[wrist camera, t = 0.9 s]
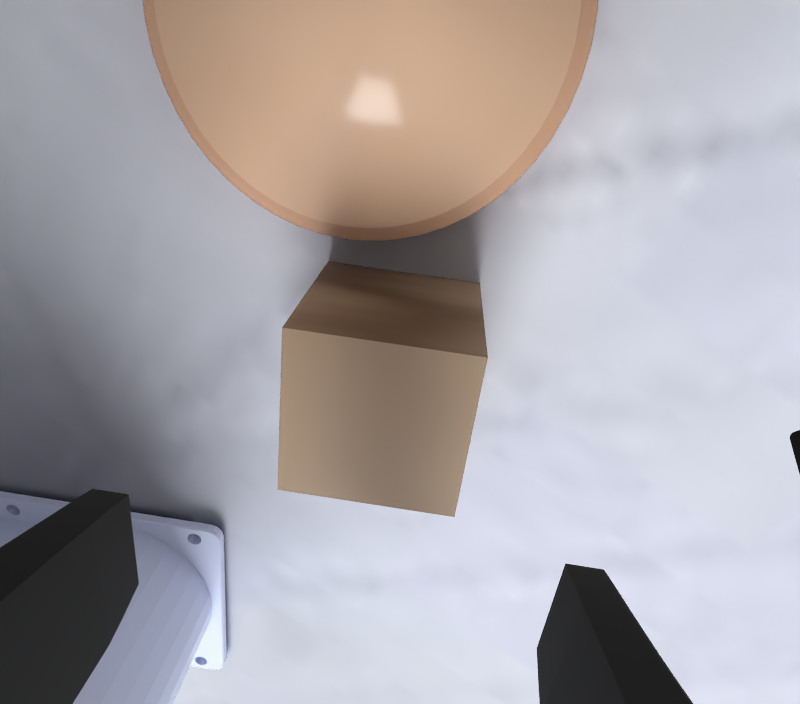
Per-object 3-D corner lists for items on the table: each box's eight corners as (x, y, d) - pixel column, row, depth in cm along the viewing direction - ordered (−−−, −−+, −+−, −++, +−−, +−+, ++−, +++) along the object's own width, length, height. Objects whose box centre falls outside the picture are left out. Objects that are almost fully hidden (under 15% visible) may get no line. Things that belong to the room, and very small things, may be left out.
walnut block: (320, 391, 19) (277, 489, 14) (328, 261, 17) (282, 327, 12) (455, 411, 19) (454, 517, 14) (479, 282, 17) (487, 358, 12)
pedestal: (185, 199, 16) (151, 214, 15) (161, -280, 12) (110, -343, 10) (531, 248, 16) (540, 270, 14) (638, -226, 12) (671, -280, 10)
